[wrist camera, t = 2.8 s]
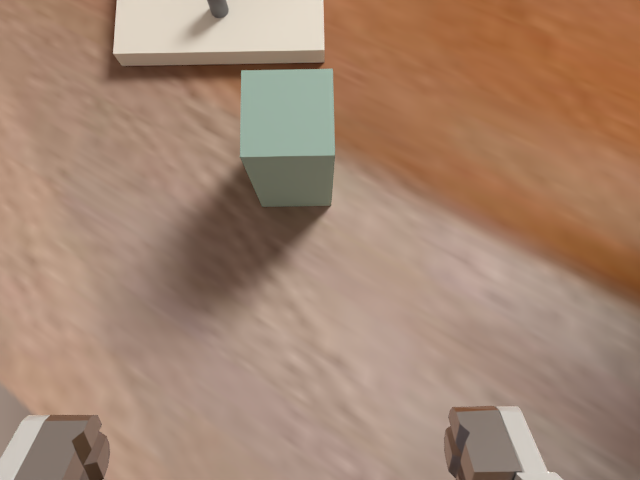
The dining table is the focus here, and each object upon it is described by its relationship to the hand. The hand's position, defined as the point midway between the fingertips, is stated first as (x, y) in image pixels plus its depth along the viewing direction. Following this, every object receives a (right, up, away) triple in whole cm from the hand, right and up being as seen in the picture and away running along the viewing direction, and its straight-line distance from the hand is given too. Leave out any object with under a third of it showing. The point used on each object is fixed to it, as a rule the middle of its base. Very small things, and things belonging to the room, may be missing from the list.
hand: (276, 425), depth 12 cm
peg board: (-6, +23, +24) cm, 34 cm away
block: (-1, +9, +21) cm, 23 cm away
